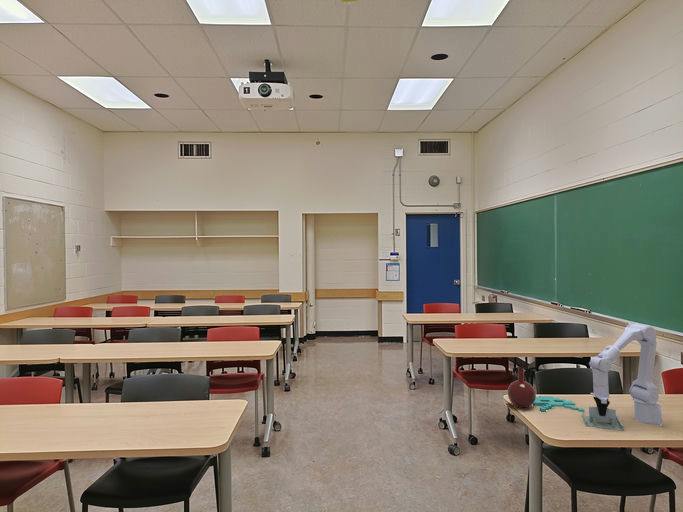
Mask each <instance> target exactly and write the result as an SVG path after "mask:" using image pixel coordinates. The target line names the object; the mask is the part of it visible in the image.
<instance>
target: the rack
mask: <svg viewBox="0 0 683 512" xmlns="http://www.w3.org/2000/svg"><path fill="white" fill-rule="evenodd" d="M581 413H582V414H581V415H582V416H581V417H582V419H583V422H584V425H585V427H590V428H595V429H596V428H597V429H603V430H604V429H605V430H613V431H617V432H619V431H621V432H625V425H624V424H623V423H622V421H621V419H620V418H619V416H618V415H616V424H615V421H614V419H613V418H611V423H604V422H597V421H596V418H595V416H592V421H590V420H589V415H586V413H585V412H581Z"/></svg>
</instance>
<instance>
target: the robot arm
mask: <svg viewBox="0 0 683 512" xmlns="http://www.w3.org/2000/svg"><path fill="white" fill-rule="evenodd" d="M657 333H658V332H657V330H656V329H655V328H654V327H653V326H651V325H644V324H639V323H634V322H632V323H631V322H630V323H628V324H627V325H626V327H624V331H623V332H622V334H621V335H620V336H619V338H618V339H617V340H616V341H615V342H614V343H613V344H612V345H606V346H605V347H604V348H603V350H602V351H601V352H600V353H598V355H596V356H593V357H591V359H590V361H589V362H588V365H589V367H590V368H591V373H592V382H593V383H592V384H593V387H592V388H593V392H590V396H593V397H592V398H593V400H594V401H595V404H596V407H598V412H599V415H600V416H605V415H606V411H607V408H609V405H610V404H611V402H610V400H609V398H610V392H609V391H610V388H609V371H611V369H612V366H613V364H614V361H616V360H617V359H618V358H619V357H620V356H621V351H622V350H623V349H624V348H626V347H627V346H628V345H629V344H630V343H632V341H636V342H638V343H639V345H640V353H639V358H638V359H639V361H638V362H639V363H638V367H637V368H638V371H637V378H636V379H635V380H633V381H632V382H631V386H630V388H629V390H628V391H629V395H630V397H632V401H633V403H634V404H633V405H634V406H633V407H634V419H635V421H637V422H640V423H643V424H651V425H652V424H654V425H658V426H659V427H661V428H662V427H663V419H662V418H663V417H662V409H661V405H660V403H658V402H659V399H660V398H659V397H660V396H659V393H658V392H659V391H658V389H659V388H658V387H657V386H656V385H655V384H654V383H653V382H654V381H653V379H654V371H655V364H656V363H655V361H656V352H657Z"/></svg>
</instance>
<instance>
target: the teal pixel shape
mask: <svg viewBox="0 0 683 512" xmlns="http://www.w3.org/2000/svg"><path fill="white" fill-rule="evenodd" d="M532 406H533V407H539V412H540V411H541V412H546V413H547V411H546V410H549V409H553V408H552V407H554V408H556V407H559V408H561V407H563V408H564V409H570V410H572V411H578V412H581V413H582V412H584V413H585V411H586V410H585V409H584V408H582V407H576V403H575V402H574V401H572V400H567V399H565V398H560V397H554V396H552V395H551V396H550V395H539V396H538V397H537V396H536V399H535V402H534V403H533V405H532ZM549 411H550V410H549ZM541 412H540V413H541Z"/></svg>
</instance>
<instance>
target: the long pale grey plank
mask: <svg viewBox="0 0 683 512" xmlns="http://www.w3.org/2000/svg"><path fill="white" fill-rule="evenodd" d="M588 416H589V420H590V421H592V416H595V418H596V421H597V422H604V423H611V418H613V419H614V421H615V424H616V416H617V409H615V408H609V407H607V411H606V415H605V416H600V415H599V412H598V407H597V406H591V405H589V406H588Z"/></svg>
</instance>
